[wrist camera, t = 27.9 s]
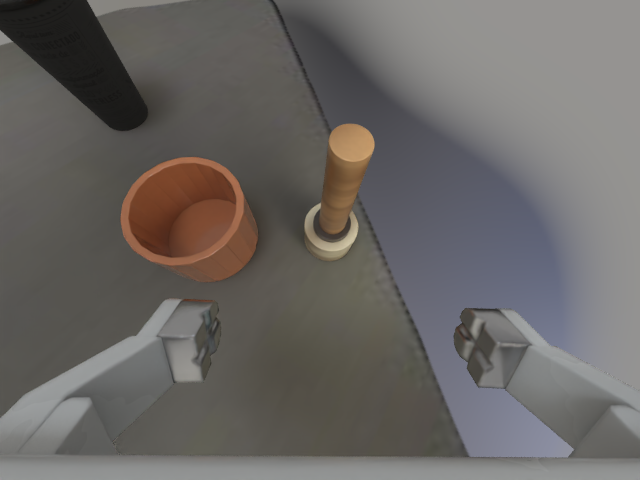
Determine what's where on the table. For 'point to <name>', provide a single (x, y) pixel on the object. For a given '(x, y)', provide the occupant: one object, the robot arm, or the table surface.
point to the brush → (339, 193)
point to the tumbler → (190, 219)
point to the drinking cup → (75, 56)
